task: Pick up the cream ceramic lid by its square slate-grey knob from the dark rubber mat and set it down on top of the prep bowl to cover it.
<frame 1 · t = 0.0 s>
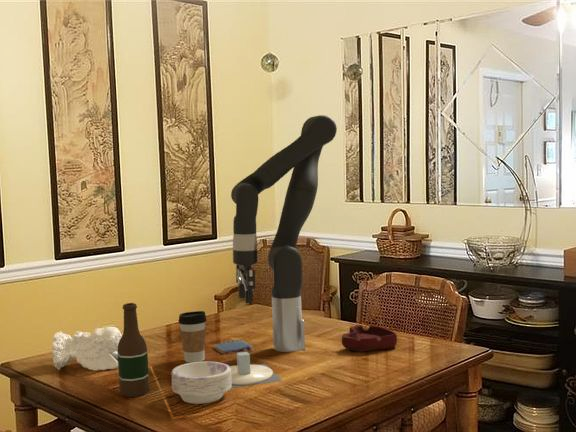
hand: (245, 300, 218), 17 cm above the table, tool pointing down, fingers open, 8 cm apart
woven mat: (233, 351, 227), on the table
mat: (244, 377, 197), on the table
beer bottle: (134, 393, 188), on the table
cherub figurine: (91, 366, 215), on the table
lid: (244, 375, 197), point 1 cm above the table, touching mat
paper bowls: (202, 399, 181), on the table
coffee cup: (194, 361, 215), on the table
ashtray: (371, 347, 224), on the table
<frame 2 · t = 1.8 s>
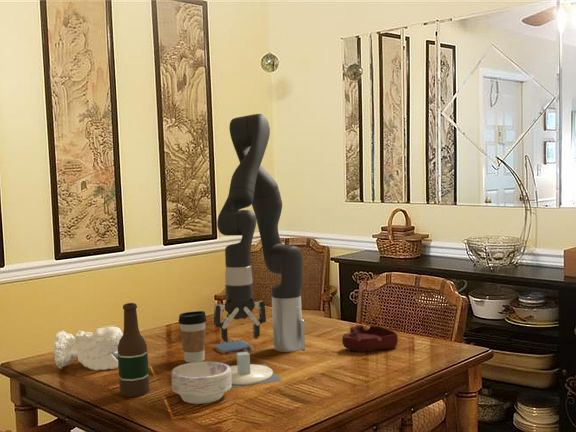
hand: (240, 339, 196), 11 cm above the table, tool pointing down, fingers open, 8 cm apart
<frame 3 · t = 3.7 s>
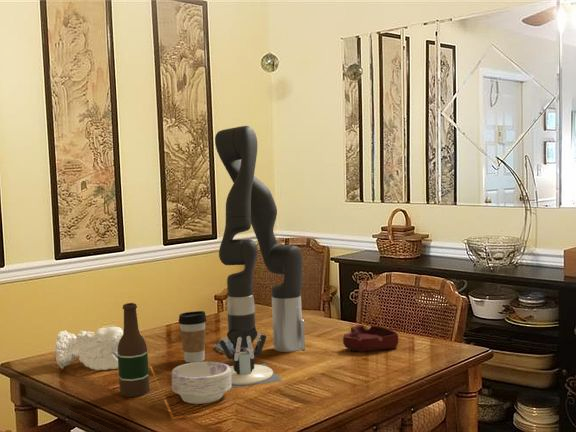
hand: (243, 371, 197), 2 cm above the table, tool pointing down, fingers closed on lid, 3 cm apart
lid: (244, 375, 197), point 1 cm above the table, touching gripper, mat
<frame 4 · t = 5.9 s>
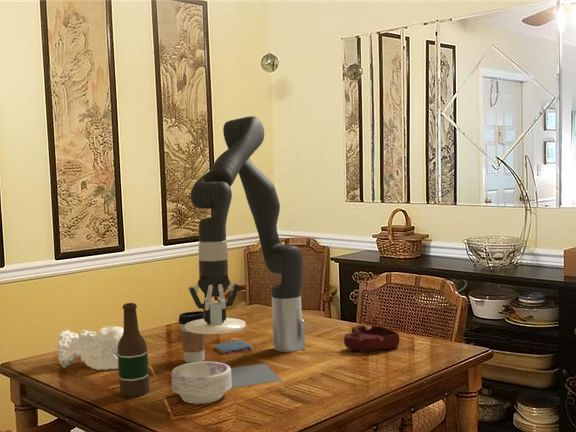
hand: (215, 322, 186), 18 cm above the table, tool pointing down, fingers closed on lid, 3 cm apart
lid: (215, 327, 186), point 17 cm above the table, touching gripper
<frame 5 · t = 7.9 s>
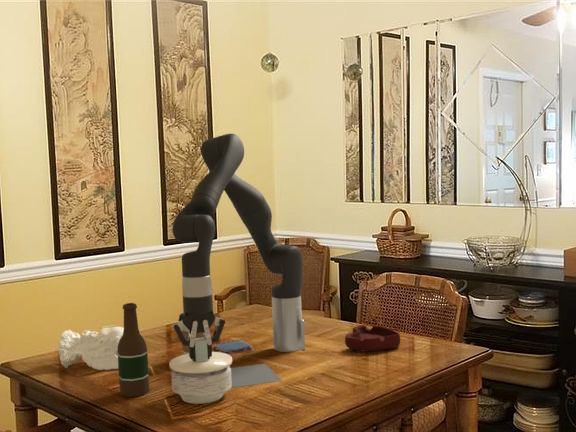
hand: (200, 359, 181), 10 cm above the table, tool pointing down, fingers closed on lid, 3 cm apart
lid: (201, 363, 181), point 9 cm above the table, touching gripper
when the fingers open (10 cm above the table, at t = 8.4 s): lid drops 1 cm, resting on paper bowls.
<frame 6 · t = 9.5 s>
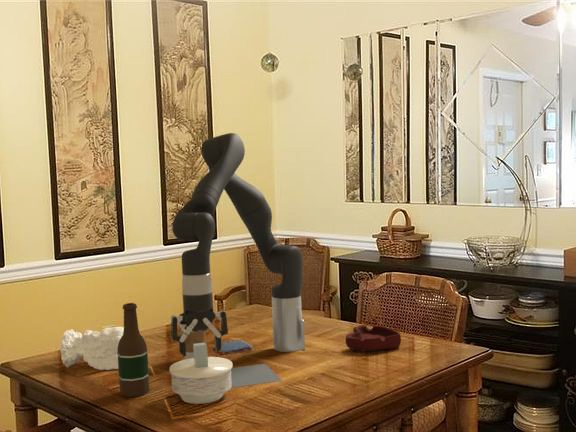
hand: (200, 353, 180), 12 cm above the table, tool pointing down, fingers open, 8 cm apart
lid: (201, 368, 181), point 8 cm above the table, touching paper bowls
paper bowls: (202, 399, 181), on the table, touching lid
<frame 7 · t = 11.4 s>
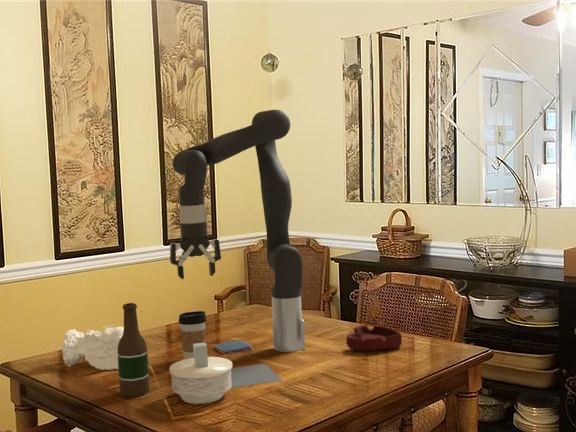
hand: (196, 277, 202), 28 cm above the table, tool pointing down, fingers open, 8 cm apart
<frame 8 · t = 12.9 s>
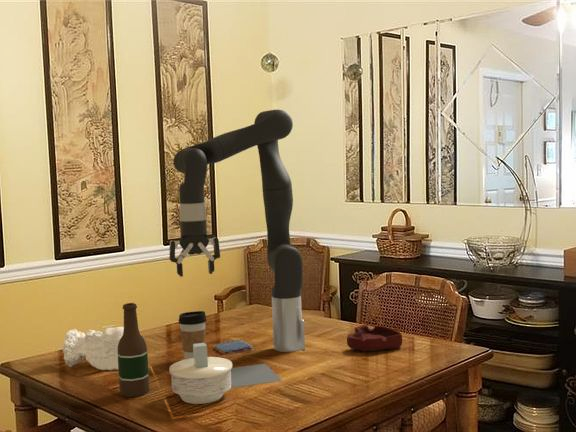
hand: (195, 274, 203), 28 cm above the table, tool pointing down, fingers open, 8 cm apart
at the end: lid inside the target area on the paper bowls (0.1 cm from its centre), point 8.1 cm above the paper bowls's base; lid tilted 0°; the gripper is holding nothing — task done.
